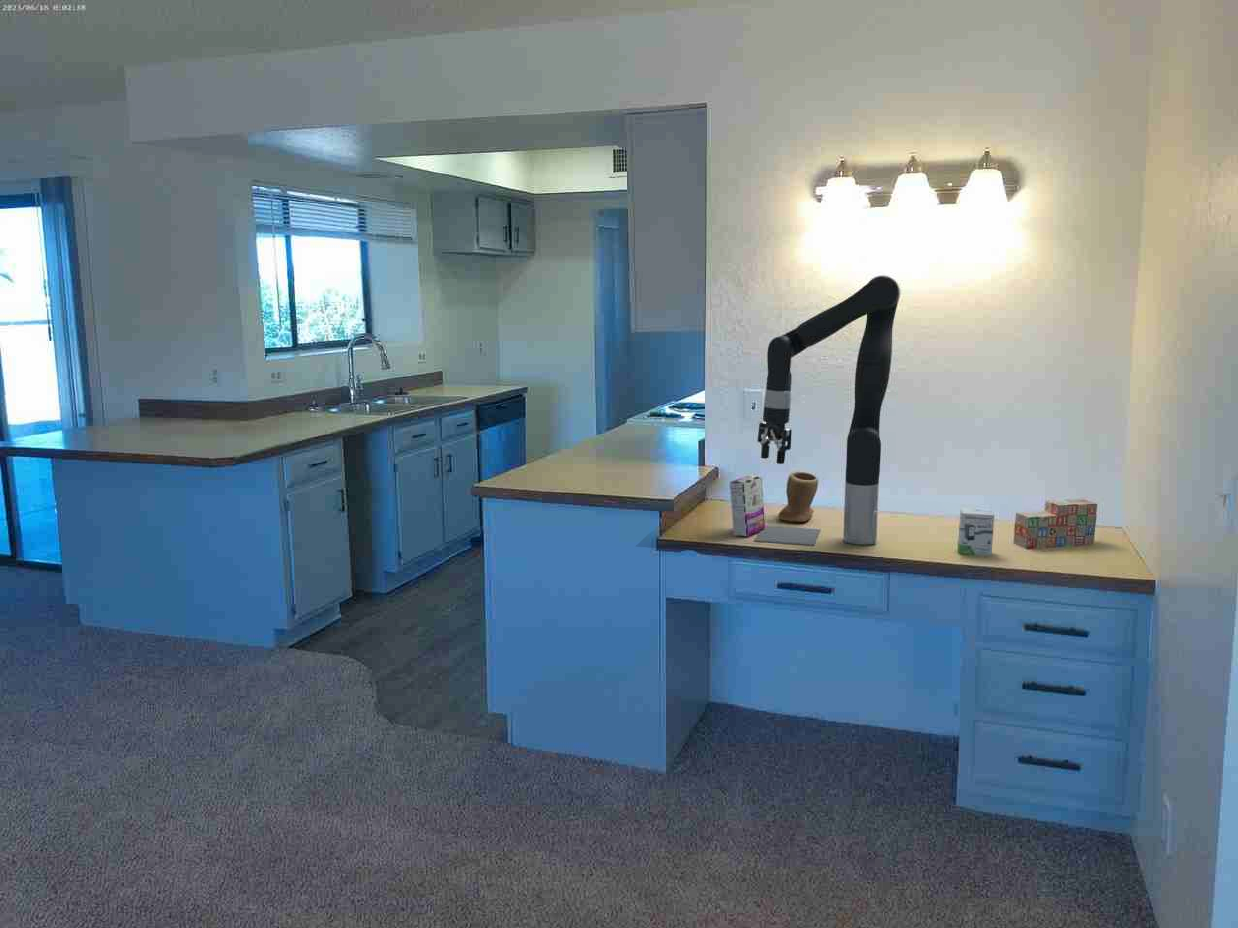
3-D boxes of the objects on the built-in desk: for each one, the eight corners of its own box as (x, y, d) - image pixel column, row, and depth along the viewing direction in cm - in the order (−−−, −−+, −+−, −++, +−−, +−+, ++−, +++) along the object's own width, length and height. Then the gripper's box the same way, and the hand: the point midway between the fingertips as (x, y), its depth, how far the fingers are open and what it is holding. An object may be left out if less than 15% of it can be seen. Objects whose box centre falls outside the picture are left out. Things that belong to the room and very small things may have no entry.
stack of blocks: (1025, 549, 270) (1029, 506, 268) (1012, 543, 277) (1015, 501, 274) (1094, 545, 274) (1098, 502, 272) (1079, 539, 281) (1083, 498, 278)
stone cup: (812, 526, 297) (814, 478, 294) (774, 522, 302) (775, 475, 299) (822, 515, 311) (824, 469, 308) (786, 512, 315) (787, 466, 313)
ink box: (958, 554, 266) (961, 512, 263) (957, 549, 270) (959, 508, 268) (992, 556, 263) (994, 514, 261) (990, 551, 268) (993, 510, 266)
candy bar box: (751, 527, 295) (748, 474, 292) (765, 528, 292) (762, 475, 289) (732, 535, 286) (728, 481, 284) (747, 537, 283) (743, 481, 281)
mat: (820, 530, 292) (820, 529, 292) (813, 545, 275) (814, 544, 275) (763, 526, 297) (763, 525, 296) (754, 541, 280) (754, 540, 280)
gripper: (801, 409, 275) (796, 465, 278) (775, 402, 288) (770, 456, 291) (779, 409, 272) (774, 465, 275) (753, 402, 285) (748, 456, 288)
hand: (772, 460), depth 283 cm, fingers open, 8 cm apart
